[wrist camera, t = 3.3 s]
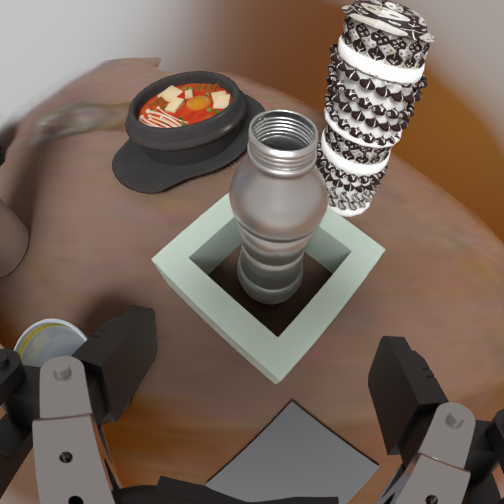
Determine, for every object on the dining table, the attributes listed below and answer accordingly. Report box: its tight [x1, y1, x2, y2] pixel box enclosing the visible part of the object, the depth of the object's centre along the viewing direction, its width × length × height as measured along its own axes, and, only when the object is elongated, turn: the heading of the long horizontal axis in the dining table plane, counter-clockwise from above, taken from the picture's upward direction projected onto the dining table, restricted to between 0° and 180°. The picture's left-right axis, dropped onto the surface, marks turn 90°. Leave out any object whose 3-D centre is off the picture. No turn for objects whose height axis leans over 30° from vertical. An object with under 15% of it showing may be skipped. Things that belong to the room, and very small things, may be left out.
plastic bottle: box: [229, 109, 328, 304], centre depth 24 cm, size 6×7×20 cm
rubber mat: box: [206, 401, 379, 504], centre depth 22 cm, size 12×12×1 cm
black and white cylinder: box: [315, 0, 434, 217], centre depth 27 cm, size 9×9×25 cm
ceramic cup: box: [14, 318, 130, 425], centre depth 22 cm, size 13×10×10 cm
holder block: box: [151, 193, 385, 385], centre depth 30 cm, size 16×16×6 cm
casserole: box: [112, 71, 264, 194], centre depth 39 cm, size 25×19×8 cm
